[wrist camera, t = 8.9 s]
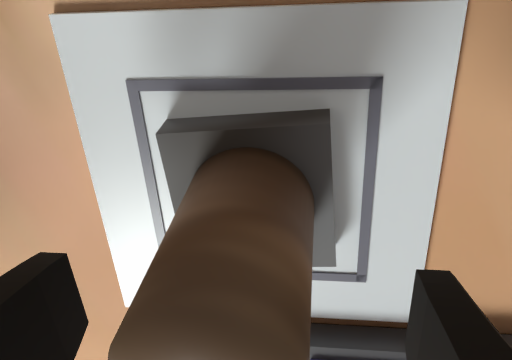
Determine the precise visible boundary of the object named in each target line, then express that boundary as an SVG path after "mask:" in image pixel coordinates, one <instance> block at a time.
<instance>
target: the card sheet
mask: <svg viewBox="0 0 512 360" xmlns="http://www.w3.org/2000/svg"><path fill="white" fill-rule="evenodd" d="M467 4H468V0H409V1H381V2H352V3H324V4H296V5H268V6H239V7H211V8H183V9H155V10H127V11H98V12H70V13H52V14H49V18H50V22H51V26H52V30H53V33H54V37H55V41H56V45H57V49H58V52H59V56H60V60H61V64H62V68H63V71H64V75H65V79H66V83H67V87H68V91H69V94H70V98H71V102H72V106H73V110H74V113H75V117H76V121H77V125H78V129H79V132H80V136H81V140H82V144H83V148H84V151H85V155H86V159H87V163H88V167H89V170H90V174H91V178H92V182H93V186H94V189H95V193H96V197H97V201H98V205H99V209H100V212H101V216H102V220H103V224H104V228H105V231H106V235H107V239H108V243H109V247H110V250H111V254H112V258H113V262H114V266H115V269H116V273H117V277H118V281H119V285H120V288H121V292H122V296H123V300H124V304H125V307H130V305H131V303H132V301H133V299H134V297H135V295H136V293H137V291H138V289H139V286H140V284H141V282H142V280H143V278H144V276H145V274H146V272H147V270H148V268H149V266H150V264H151V262H152V260H153V258H154V256H155V254H156V252H157V250H158V248H159V246H160V244H161V242H162V240H163V238H164V236H165V234H166V232H167V230H168V228H169V226H170V224H171V222H172V220H173V218H174V216H175V213H174V209H173V205H172V201H171V197H170V193H169V189H168V184H167V180H166V176H165V172H164V168H163V164H162V160H161V156H160V151H159V147H158V143H157V139H156V135H155V134H156V132H157V131H158V130H159V129H160V127H161V126H162V125H163V123H164V122H165V121H166V119H175V118H191V117H206V116H221V115H237V114H252V113H268V112H283V111H298V110H314V109H329V108H330V127H331V150H332V174H333V197H334V221H335V244H336V267H312V295H311V317H316V318H334V319H352V320H370V321H388V322H405V323H408V319H409V313H410V306H411V299H412V293H413V286H414V279H415V273H416V269H421V270H424V268H425V262H426V256H427V250H428V244H429V238H430V232H431V225H432V219H433V213H434V207H435V201H436V195H437V189H438V182H439V176H440V170H441V164H442V158H443V152H444V145H445V139H446V133H447V127H448V121H449V115H450V109H451V102H452V96H453V90H454V84H455V78H456V72H457V66H458V59H459V53H460V47H461V41H462V35H463V29H464V23H465V16H466V10H467Z"/></svg>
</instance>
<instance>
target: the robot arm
mask: <svg viewBox="0 0 512 360" xmlns="http://www.w3.org/2000/svg"><path fill="white" fill-rule="evenodd" d="M88 323H89V322H88V319H87V316H86V313H85V309H84V306H83V303H82V300H81V297H80V294H79V291H78V288H77V285H76V282H75V278H74V275H73V272H72V269H71V266H70V263H69V260H68V257H67V254H66V253H46V252H40V253H38V254H36V255H35V256H33V257H31V258H29V259H28V260H26V261H24V262H23V263H21V264H19V265H18V266H16V267H15V268H13V269H11V270H10V271H8V272H7V273H5V274H4V275H2V276H0V360H74V358H75V356H76V354H77V351H78V349H79V347H80V344H81V341H82V339H83V336H84V333H85V331H86V328H87V326H88ZM405 350H406V359H407V360H512V347H511V346H510V345H509V344H508V343H507V342H506V340H505V339H504V338H503V337H502V336H501V334H500V333H499V332H498V331H497V330H496V328H495V327H494V326H493V325H492V323H491V322H490V321H489V320H488V318H487V317H486V316H485V315H484V313H483V312H482V311H481V310H480V308H479V307H478V306H477V305H476V303H475V302H474V301H473V299H472V298H471V297H470V296H469V294H468V293H467V292H466V290H465V289H464V288H463V286H462V285H461V284H460V283H459V281H458V280H457V279H456V277H455V276H454V275H453V274H452V273H451V272H450V271H443V270H421V269H416V273H415V279H414V286H413V293H412V299H411V306H410V313H409V319H408V326H407V333H406V339H405Z"/></svg>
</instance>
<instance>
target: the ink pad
mask: <svg viewBox="0 0 512 360" xmlns="http://www.w3.org/2000/svg"><path fill="white" fill-rule="evenodd" d="M406 333H407V329H401V328H384V327H366V326H349V325H332V324H314V323H311V327H310V358H309V360H407V359H406V350H405V339H406ZM501 336H502V337H503V338H504V339H505V340H506V342H507V343H508V344H509V345H510V346H511V347H512V335H506V334H501Z"/></svg>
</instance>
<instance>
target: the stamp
mask: <svg viewBox="0 0 512 360" xmlns="http://www.w3.org/2000/svg"><path fill="white" fill-rule="evenodd" d="M155 135H156V139H157V143H158V147H159V151H160V156H161V160H162V164H163V168H164V172H165V176H166V180H167V184H168V189H169V193H170V197H171V201H172V205H173V209H174V213H175V216H174V218H173V220H172V222H171V224H170V226H169V228H168V230H167V232H166V234H165V236H164V238H163V240H162V242H161V244H160V246H159V248H158V250H157V252H156V254H155V256H154V258H153V260H152V262H151V264H150V266H149V268H148V270H147V272H146V274H145V276H144V278H143V280H142V282H141V284H140V286H139V289H138V291H137V293H136V295H135V297H134V299H133V301H132V303H131V305H130V307H129V309H128V311H127V313H126V315H125V317H124V319H123V321H122V323H121V325H120V327H119V329H118V331H117V333H116V335H115V337H114V339H113V341H112V343H111V346H110V349H109V353H108V360H309V358H310V327H311V295H312V267H336V244H335V221H334V197H333V174H332V150H331V127H330V108H329V109H314V110H298V111H283V112H268V113H252V114H237V115H221V116H206V117H191V118H175V119H166V121H165V122H164V123H163V125H162V126H161V127H160V129H159V130H158V131H157V132H156V134H155Z"/></svg>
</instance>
